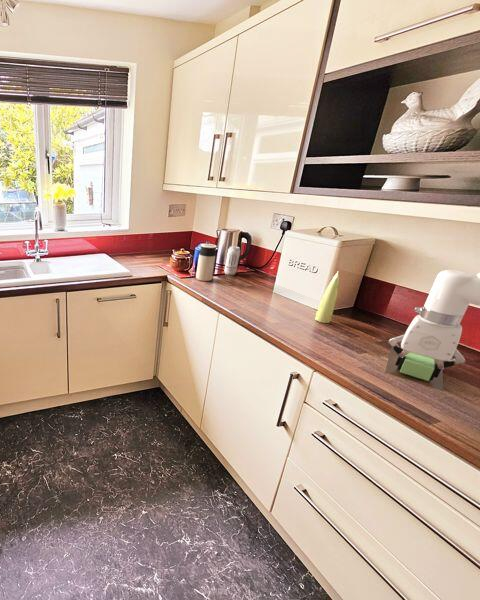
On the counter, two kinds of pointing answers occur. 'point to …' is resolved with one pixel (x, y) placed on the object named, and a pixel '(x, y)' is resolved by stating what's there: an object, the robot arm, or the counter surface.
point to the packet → (418, 366)
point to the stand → (392, 370)
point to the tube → (328, 301)
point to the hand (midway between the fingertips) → (414, 372)
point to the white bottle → (232, 260)
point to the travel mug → (206, 262)
